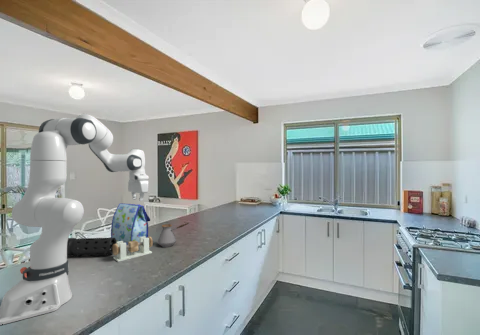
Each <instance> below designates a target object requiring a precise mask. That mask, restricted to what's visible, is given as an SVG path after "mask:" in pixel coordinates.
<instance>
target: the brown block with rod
mask: <svg viewBox="0 0 480 335" xmlns="http://www.w3.org/2000/svg"><path fill="white" fill-rule="evenodd" d="M147 238H149V248H151V247H153V242H154V241H153V237H152V236H148V237H147ZM140 245H143V242H139V243H138V242H137V241H130V242H128V245H126V250H128V251H129V253H133V252H137V251H139V247H140ZM112 250H113V256H117V255H118V252H119V250H120V248H119V247H118V245H117V244H113V246H112Z"/></svg>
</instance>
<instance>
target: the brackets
mask: <svg viewBox="0 0 480 335" xmlns="http://www.w3.org/2000/svg"><path fill="white" fill-rule="evenodd" d="M140 242H143V245H140V246H139V250H138V251H135V252H129V253H127V249H126V243H123V241H119V242H117V245H118V247H119V248H120V250H119V252H118V255H115V256H113V260H115V261H116V262H123V261H126V260H130V259H135V258H139V257H142V256H146V255H151V254H153V251H151V250H150V247H149V238H146V237H145V236H143V237H140Z"/></svg>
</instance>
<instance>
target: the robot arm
mask: <svg viewBox="0 0 480 335" xmlns="http://www.w3.org/2000/svg"><path fill="white" fill-rule="evenodd" d="M113 143H114V135H113V132H112V131H111V130H110V129H109V128H108V127H107V126H106V124H103V123H102V122H101V120H99V119H97V118H96V117H95V116H94V115H91V114H88V113H83V114H79V115H78V116H77V117H75V118H74V117H70V118H69V117H61V118H60V117H59V118H51V119H48V120H45V121H43V122H42V123H41V124H40V126H39V128H38V133H36V134H35V135H34V136H33V139H32V142H31V148H30V154H29V180H28V185H27V188H26V190H25V193H24V195H23V196H22V197H21V199H20V200H19V201H17V202H16V203H15V204H14V205H13V207H12V210H11V217H12V219H13V221H14V222H15V223H16V224H19V225H22V226H26V227H30V228H31V227H32V228H33V227H34V228H41V234H40V236H39V237H38V239H36V240H35V241H34V242H32V243H31V245H30V248H29V267H26V266H23V267H21V268H20V270H19V272H20V274H22V279H21V280H20V281H18V282H17V284H15V285H13V287H11V288H10V289H9V290H7V291H6V292H5V294H4V295H3V298H2V300H1V304H0V326H3V325H7V324H10V323H14V322H17V321H21V320H26V319H30V318H33V317H36V316H40V315H41V316H42V315H43V314H48V313H52V312H55V311H57V310H58V309H59V308H60V307H61V306H63V305H64V304H66V303H68V302H69V301H70V300H71V299H72V298H73V293H72V290H71V286H70V281H69V271H70V266H69V265H70V264H69V260H68V256H67V242H68V238H70V235H71V232H72V230H73V229H74V228H75V226H77V225H78V224H79V223H80V222H81V221H82V219H83V217H84V213H85V209H84V208H85V207H84V206H83V204H82V202H80V201H79V200H76V199H73V198H69V197H56V194H57V191H58V189H60V187H61V186H62V185H63V186H64V185H65V183H66V182H67V178H68V176H67V174H68V159H67V158H68V157H67V156H68V153H67V148H68V147H69V146H78V145H87V144H88V148H89V149H90V151H91V152H92V153H93V154H94V155H95V156H96V157H97V159H99V160H100V161H101V163H102V164H103V166H104V167H105V169H106V171H108V172H110V173H117V172H128V173H129V175H128V176H129V179H128V182H127V183H128V185H127V188H128V192H131V193H130V194H131V196H132V200H137V196H136V195H137V194H139V198H138V200H139V201H140V202H142V201H144V198H145V197H144V196H145V194H147V193H148V192H149V179H150V177H149V175H148V174H147V173H146V155H145V151H144V150H142V149H140V148H132V149H130V150H129V152H127V153H125V154H124V153H122V154H121V153H120V154H117V153H115V154H114V153H111V152H110V151H109V150H108V149H109V148H110V147H111V146H112V144H113ZM2 324H3V325H2Z"/></svg>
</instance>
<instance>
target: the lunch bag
mask: <svg viewBox="0 0 480 335" xmlns="http://www.w3.org/2000/svg"><path fill="white" fill-rule="evenodd" d="M116 207H117V208H116V209H115V212H114V213H113V216H112V221H111V227H110V238H115V239H116V242H119V241H123V243H126V245H128V242H130V241H137V242H138V243H139V242H140V237H143V236H145V237H146V238H147V237H149V222H150V221H151V218H150V217H149V215H148V214H147V213H148V212H147V211H146V208H145V207H144V205H141V204H134V203H132V204H131V203H118V205H117V206H116Z"/></svg>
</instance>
